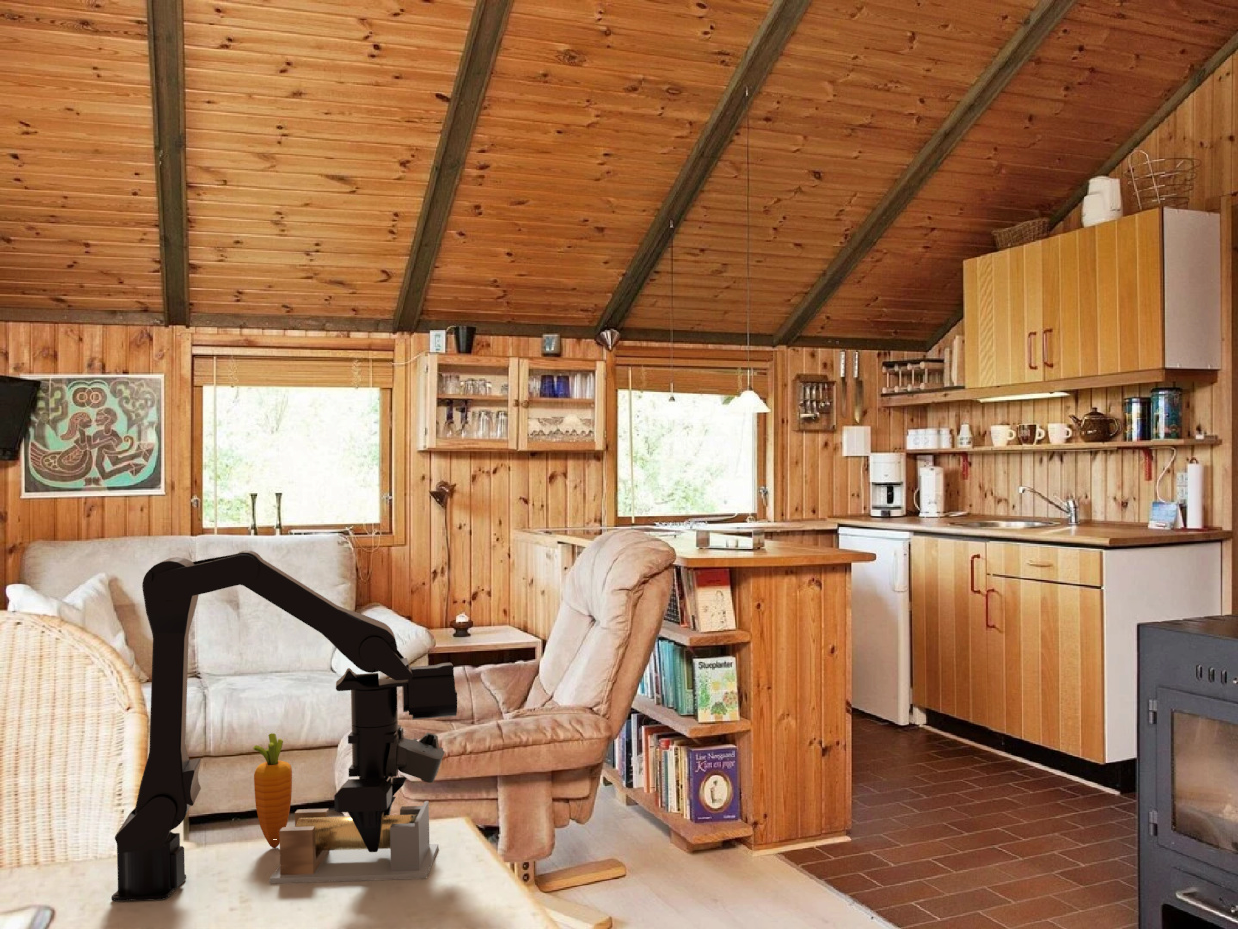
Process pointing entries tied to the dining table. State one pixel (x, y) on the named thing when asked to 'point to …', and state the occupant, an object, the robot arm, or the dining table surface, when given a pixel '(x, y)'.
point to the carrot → (272, 791)
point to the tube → (348, 831)
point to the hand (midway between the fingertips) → (377, 845)
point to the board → (357, 867)
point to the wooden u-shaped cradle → (300, 845)
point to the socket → (410, 839)
